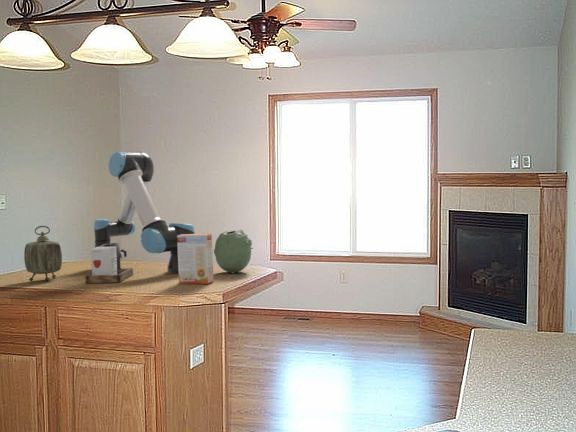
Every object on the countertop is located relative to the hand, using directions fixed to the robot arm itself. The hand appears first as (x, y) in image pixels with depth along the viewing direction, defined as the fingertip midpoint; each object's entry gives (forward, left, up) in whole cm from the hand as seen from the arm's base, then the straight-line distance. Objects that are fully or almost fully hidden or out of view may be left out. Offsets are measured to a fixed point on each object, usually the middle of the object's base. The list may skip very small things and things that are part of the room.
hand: (118, 256), depth 310 cm
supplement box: (+3, +10, -10) cm, 15 cm away
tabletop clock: (+33, +5, -10) cm, 34 cm away
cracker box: (-39, +22, -10) cm, 46 cm away
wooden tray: (+3, +5, -10) cm, 11 cm away
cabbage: (-52, -5, -10) cm, 54 cm away
